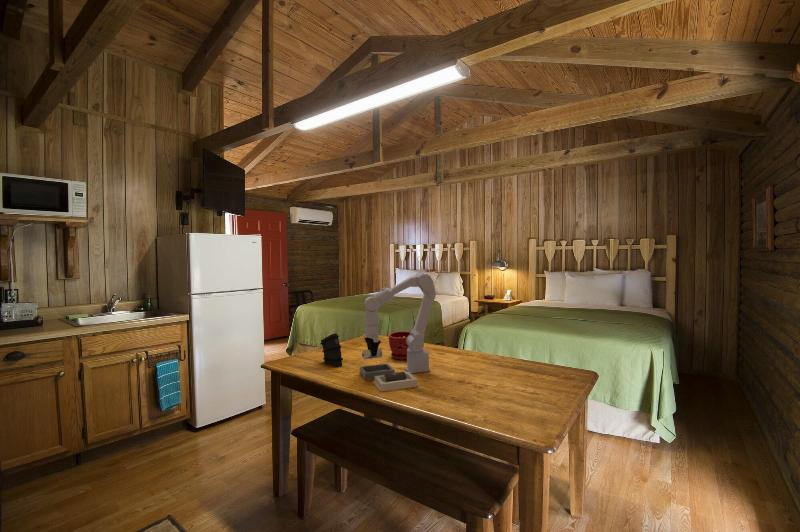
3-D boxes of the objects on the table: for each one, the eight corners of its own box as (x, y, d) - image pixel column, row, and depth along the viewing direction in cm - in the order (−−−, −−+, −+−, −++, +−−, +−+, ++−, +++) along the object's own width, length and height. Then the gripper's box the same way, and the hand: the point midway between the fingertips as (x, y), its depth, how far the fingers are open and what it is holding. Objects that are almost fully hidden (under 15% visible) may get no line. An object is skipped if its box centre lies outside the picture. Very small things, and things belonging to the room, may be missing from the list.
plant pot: (391, 353, 202) (390, 330, 201) (416, 354, 200) (416, 331, 199) (387, 361, 189) (386, 336, 188) (413, 361, 187) (413, 337, 186)
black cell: (402, 379, 160) (402, 370, 159) (406, 383, 156) (406, 373, 155) (382, 382, 157) (382, 372, 156) (385, 386, 153) (385, 376, 153)
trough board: (409, 378, 164) (409, 371, 164) (418, 386, 154) (418, 379, 154) (373, 383, 159) (373, 376, 158) (380, 391, 149) (379, 384, 149)
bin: (387, 369, 175) (387, 363, 175) (394, 376, 166) (394, 369, 166) (359, 373, 171) (359, 366, 171) (365, 380, 161) (364, 373, 161)
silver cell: (379, 352, 174) (380, 346, 172) (381, 359, 171) (382, 353, 169) (360, 354, 172) (361, 348, 169) (362, 361, 169) (363, 355, 166)
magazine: (340, 365, 178) (331, 334, 181) (326, 371, 186) (317, 341, 190) (346, 363, 180) (338, 332, 184) (332, 369, 189) (324, 340, 193)
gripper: (359, 321, 175) (360, 351, 176) (366, 328, 162) (367, 360, 162) (374, 320, 178) (375, 349, 178) (383, 326, 164) (383, 358, 165)
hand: (372, 354), depth 171 cm, fingers closed on silver cell, 4 cm apart
